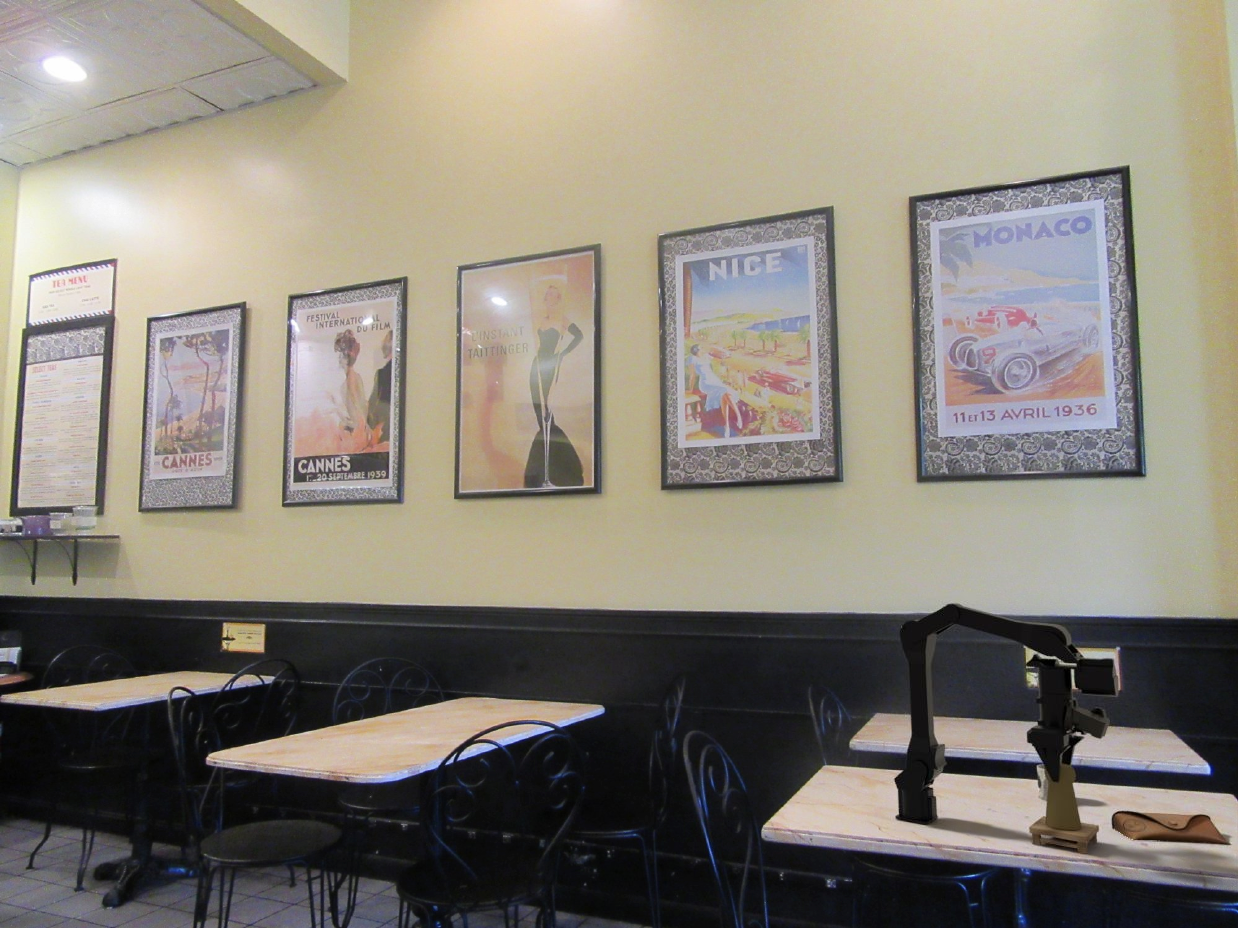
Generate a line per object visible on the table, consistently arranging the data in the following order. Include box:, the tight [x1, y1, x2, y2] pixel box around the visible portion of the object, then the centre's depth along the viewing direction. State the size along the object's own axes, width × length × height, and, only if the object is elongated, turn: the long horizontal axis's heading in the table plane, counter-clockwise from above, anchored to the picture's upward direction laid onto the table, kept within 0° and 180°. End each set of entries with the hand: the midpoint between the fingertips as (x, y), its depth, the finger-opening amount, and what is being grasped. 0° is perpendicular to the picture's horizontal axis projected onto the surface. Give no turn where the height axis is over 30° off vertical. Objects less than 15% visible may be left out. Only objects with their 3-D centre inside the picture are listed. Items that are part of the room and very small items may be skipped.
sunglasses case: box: [1110, 810, 1231, 845], centre depth 165 cm, size 18×7×7 cm
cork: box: [1044, 763, 1082, 830], centre depth 161 cm, size 6×6×11 cm
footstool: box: [1028, 815, 1100, 855], centre depth 160 cm, size 10×10×3 cm
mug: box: [1036, 763, 1048, 802], centre depth 191 cm, size 10×7×7 cm, turn 136°
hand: (1060, 778), depth 161 cm, fingers open, 7 cm apart
